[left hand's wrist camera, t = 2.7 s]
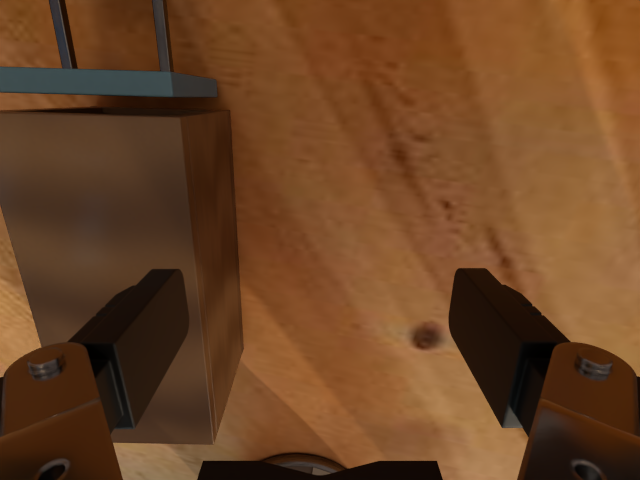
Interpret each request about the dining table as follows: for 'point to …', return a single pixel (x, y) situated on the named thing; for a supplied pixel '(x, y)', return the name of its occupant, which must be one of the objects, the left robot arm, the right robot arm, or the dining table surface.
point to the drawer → (106, 80)
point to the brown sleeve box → (131, 238)
